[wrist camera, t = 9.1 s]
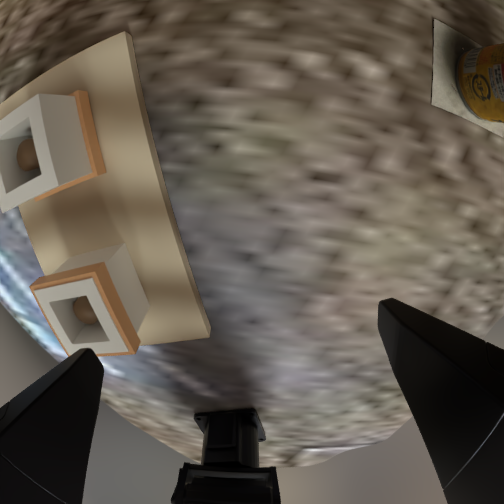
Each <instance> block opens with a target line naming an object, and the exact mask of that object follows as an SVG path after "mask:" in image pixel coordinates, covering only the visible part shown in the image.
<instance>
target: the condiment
mask: <svg viewBox="0 0 504 504" xmlns="http://www.w3.org/2000/svg"><path fill="white" fill-rule="evenodd" d="M462 48H464V50H463V49H462ZM433 57H434V59H433V84H432V105H434V106H437V107H439V108H442V109H444V110H446V111H449V112H452V113H454V114H456V115H458V116H461V117H463V118H465V119H467V120H469V121H471V122H473V123H475V124H477V125H479V126H481V127H483V128H485V129H487V130H489V131H491V132H493V133H495V134H497V135H499V136H501V137H503V133H504V43H503V44H497V45H491V46H485V47H482V46H481V45H479V44H477V43H476V42H475V41H473V40H471V39H470V38H469V37H467V36H465V35H463V34H461V33H460V32H458V31H456V30H454V29H452V28H450V27H449V26H447V25H446V24H444V23H442V22H440V21H438V20H436V19H434V54H433ZM451 84H452V85H453V86H454V88H452V86H451ZM455 89H456V91H457V93H456V92H455Z"/></svg>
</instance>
